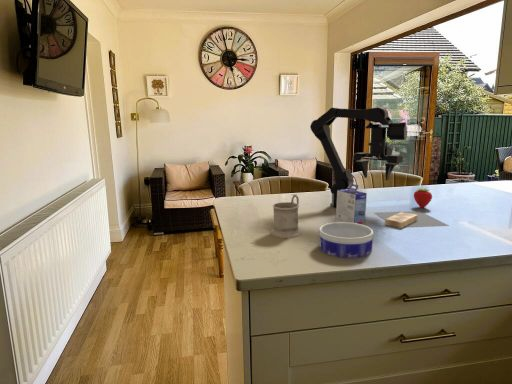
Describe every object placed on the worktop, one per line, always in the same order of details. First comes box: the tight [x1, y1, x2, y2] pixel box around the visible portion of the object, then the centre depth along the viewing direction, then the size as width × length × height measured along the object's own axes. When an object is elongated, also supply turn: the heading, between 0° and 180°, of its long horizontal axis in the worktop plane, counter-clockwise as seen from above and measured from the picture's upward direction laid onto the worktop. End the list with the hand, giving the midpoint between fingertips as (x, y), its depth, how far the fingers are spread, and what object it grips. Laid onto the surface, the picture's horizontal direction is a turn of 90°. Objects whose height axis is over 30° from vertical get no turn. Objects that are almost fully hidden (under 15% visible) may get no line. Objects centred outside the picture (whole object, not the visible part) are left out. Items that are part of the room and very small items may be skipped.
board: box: [384, 211, 418, 229], centre depth 128 cm, size 6×2×13 cm
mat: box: [373, 210, 450, 229], centre depth 133 cm, size 19×20×1 cm
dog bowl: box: [318, 221, 374, 259], centre depth 105 cm, size 15×15×6 cm
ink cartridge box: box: [335, 183, 368, 226], centre depth 127 cm, size 10×6×14 cm, turn 27°
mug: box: [270, 193, 302, 239], centre depth 121 cm, size 14×10×12 cm
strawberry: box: [413, 186, 433, 209], centre depth 147 cm, size 6×8×10 cm
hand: (376, 179), depth 144 cm, fingers open, 9 cm apart
